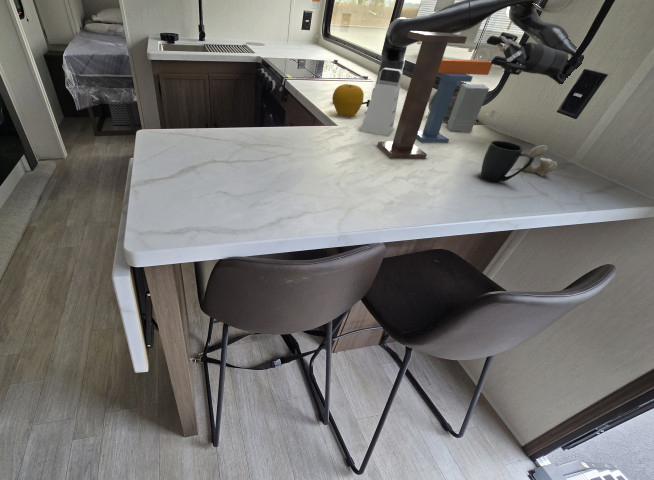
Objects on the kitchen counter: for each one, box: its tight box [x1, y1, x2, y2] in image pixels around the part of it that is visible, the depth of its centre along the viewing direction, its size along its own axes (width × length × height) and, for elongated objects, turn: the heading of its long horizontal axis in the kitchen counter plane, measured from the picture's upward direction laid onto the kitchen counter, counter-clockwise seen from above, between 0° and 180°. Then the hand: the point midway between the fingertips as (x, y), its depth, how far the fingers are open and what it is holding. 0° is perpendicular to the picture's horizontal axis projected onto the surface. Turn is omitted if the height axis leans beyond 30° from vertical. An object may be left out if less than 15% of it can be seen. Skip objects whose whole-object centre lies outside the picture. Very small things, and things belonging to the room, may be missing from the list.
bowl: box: [427, 90, 459, 121], centre depth 147 cm, size 14×15×10 cm
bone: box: [522, 144, 558, 178], centre depth 104 cm, size 9×6×10 cm
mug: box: [479, 140, 535, 183], centre depth 98 cm, size 8×12×10 cm
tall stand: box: [377, 31, 468, 160], centre depth 105 cm, size 12×12×32 cm
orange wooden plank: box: [438, 58, 493, 76], centre depth 114 cm, size 24×4×4 cm, turn 97°
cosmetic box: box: [446, 83, 490, 133], centre depth 134 cm, size 8×7×16 cm
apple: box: [331, 83, 365, 118], centre depth 143 cm, size 13×13×11 cm
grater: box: [359, 68, 403, 137], centre depth 127 cm, size 10×10×20 cm
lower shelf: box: [416, 73, 474, 144], centre depth 122 cm, size 10×12×21 cm
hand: (490, 49), depth 109 cm, fingers open, 8 cm apart
